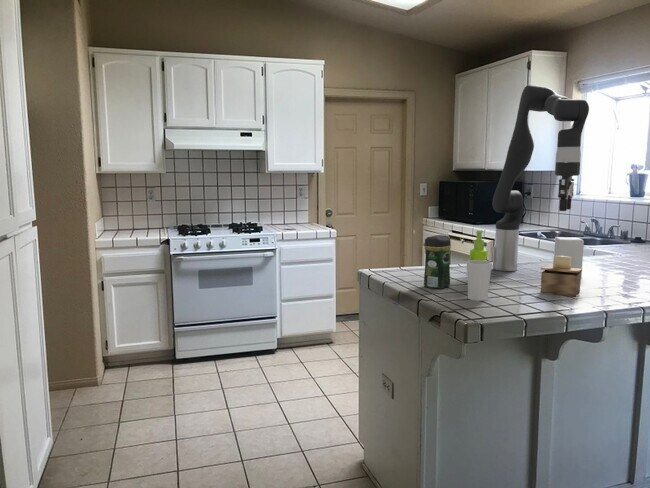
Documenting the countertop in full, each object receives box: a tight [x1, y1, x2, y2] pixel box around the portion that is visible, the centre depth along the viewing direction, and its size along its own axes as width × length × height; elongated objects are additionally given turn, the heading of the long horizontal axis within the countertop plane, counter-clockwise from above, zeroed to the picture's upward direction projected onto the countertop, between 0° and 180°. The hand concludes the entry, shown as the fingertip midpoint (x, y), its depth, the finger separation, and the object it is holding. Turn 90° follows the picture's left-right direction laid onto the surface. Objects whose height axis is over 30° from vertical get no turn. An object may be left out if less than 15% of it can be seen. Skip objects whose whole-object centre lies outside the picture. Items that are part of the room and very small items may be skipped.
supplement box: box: [553, 236, 585, 278], centre depth 212 cm, size 9×9×15 cm
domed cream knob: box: [552, 255, 571, 269], centre depth 182 cm, size 6×6×4 cm
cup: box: [466, 259, 493, 302], centre depth 174 cm, size 8×8×12 cm
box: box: [540, 270, 582, 298], centre depth 183 cm, size 11×9×7 cm
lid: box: [540, 265, 583, 273], centre depth 182 cm, size 12×10×1 cm
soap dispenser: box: [469, 230, 488, 261], centre depth 192 cm, size 6×7×20 cm
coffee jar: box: [423, 234, 452, 290], centre depth 191 cm, size 10×8×19 cm
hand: (565, 210), depth 179 cm, fingers open, 8 cm apart
